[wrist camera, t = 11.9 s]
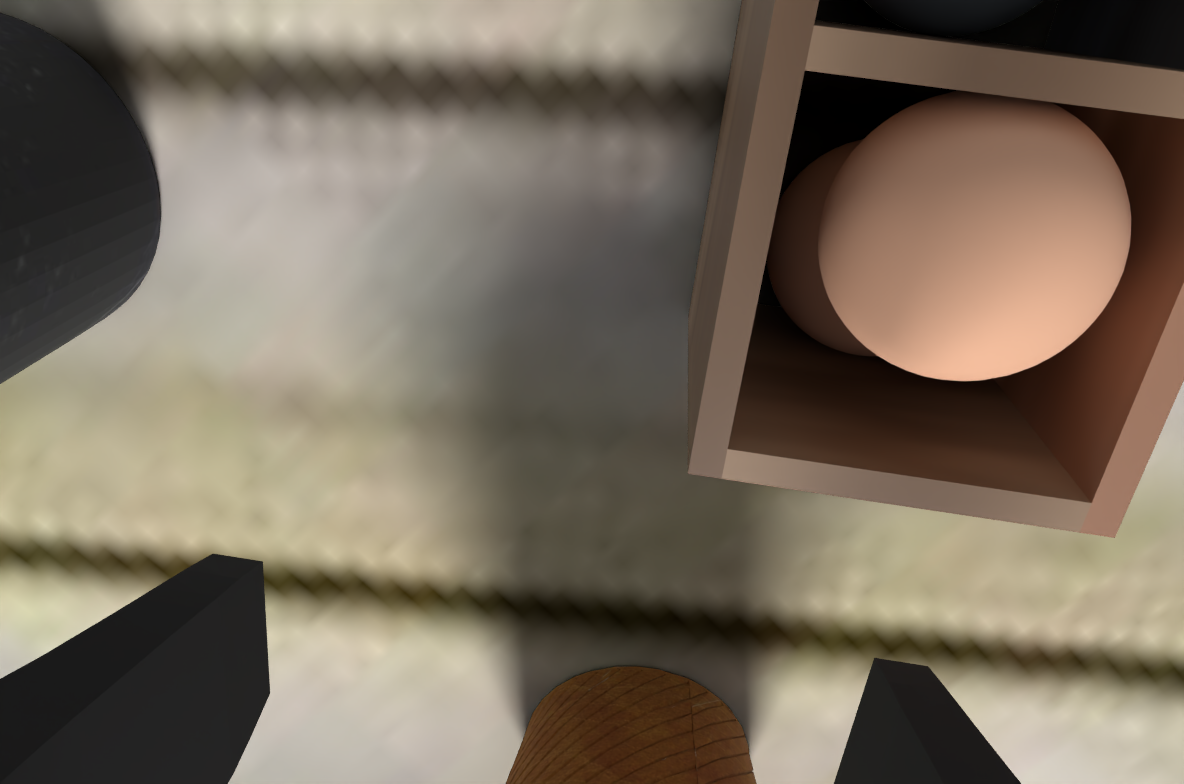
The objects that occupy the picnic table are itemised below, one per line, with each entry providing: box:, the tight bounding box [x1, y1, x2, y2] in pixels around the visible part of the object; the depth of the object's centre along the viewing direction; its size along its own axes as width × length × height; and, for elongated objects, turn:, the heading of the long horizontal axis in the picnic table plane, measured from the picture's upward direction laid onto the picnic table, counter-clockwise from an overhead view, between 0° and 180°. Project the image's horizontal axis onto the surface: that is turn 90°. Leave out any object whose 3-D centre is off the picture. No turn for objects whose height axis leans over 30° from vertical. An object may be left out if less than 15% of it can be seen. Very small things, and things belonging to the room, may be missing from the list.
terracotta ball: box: [818, 90, 1131, 381], centre depth 12 cm, size 4×4×4 cm
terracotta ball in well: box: [766, 139, 877, 356], centre depth 16 cm, size 4×4×4 cm
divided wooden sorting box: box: [688, 0, 1184, 538], centre depth 13 cm, size 6×12×7 cm, turn 174°
